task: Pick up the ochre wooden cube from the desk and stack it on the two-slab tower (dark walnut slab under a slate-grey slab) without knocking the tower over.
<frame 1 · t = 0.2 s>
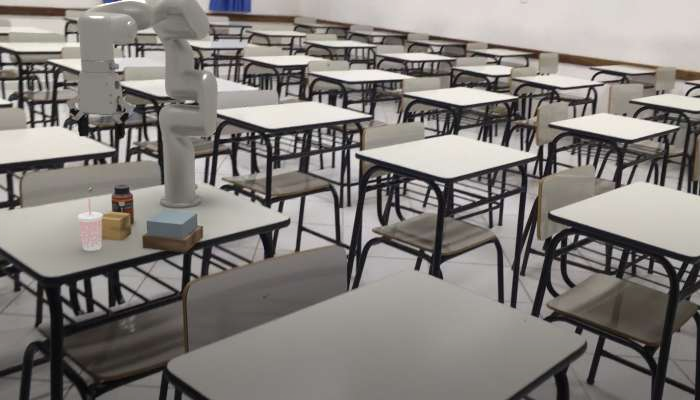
hand: (101, 137, 172), 30 cm above the table, fingers open, 9 cm apart
supplement bottle: (123, 224, 201), on the table
tower base: (173, 244, 189), on the table
ochre cube: (115, 236, 191), on the table
tower top: (172, 230, 187), point 3 cm above the table
beverage cup: (92, 248, 182), on the table
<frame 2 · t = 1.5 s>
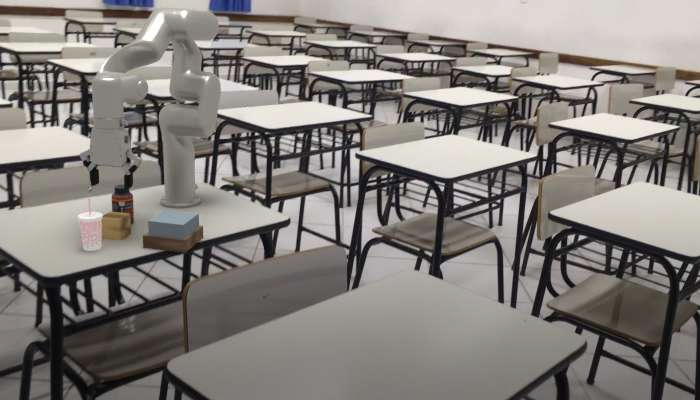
hand: (111, 186, 187), 14 cm above the table, fingers open, 9 cm apart
tower base: (174, 244, 189), on the table, touching tower top
tower top: (174, 231, 187), point 3 cm above the table, touching tower base
everything else where it was.
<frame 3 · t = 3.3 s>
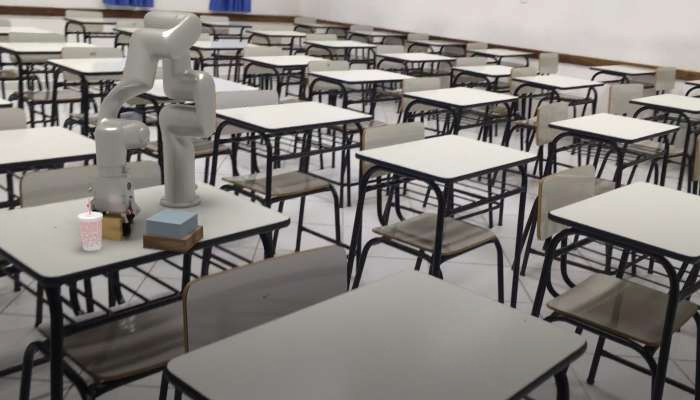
hand: (115, 233, 191), 1 cm above the table, fingers closed on ochre cube, 6 cm apart
ochre cube: (115, 236, 191), on the table, touching gripper
everything else where it was.
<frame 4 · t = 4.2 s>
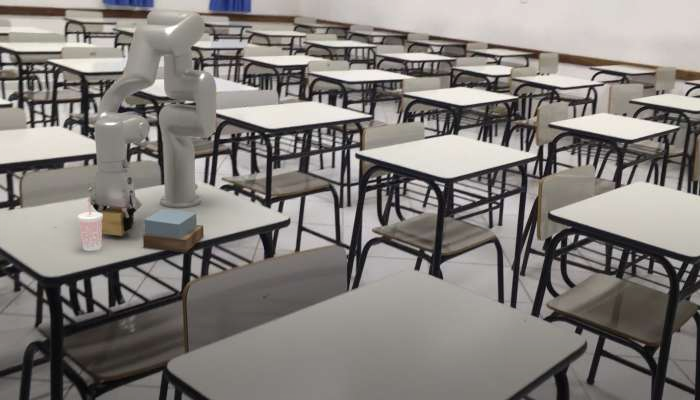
hand: (116, 227, 191), 2 cm above the table, fingers closed on ochre cube, 6 cm apart
ochre cube: (116, 230, 191), point 1 cm above the table, touching gripper
everything else where it was.
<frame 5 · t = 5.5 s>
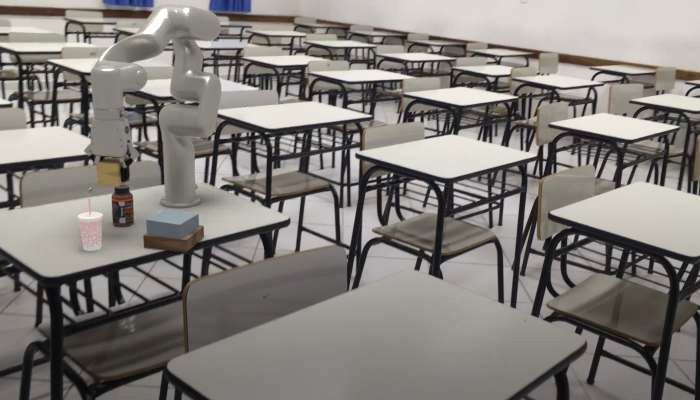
hand: (113, 179, 187), 16 cm above the table, fingers closed on ochre cube, 6 cm apart
ochre cube: (113, 182, 187), point 15 cm above the table, touching gripper
everything else where it was.
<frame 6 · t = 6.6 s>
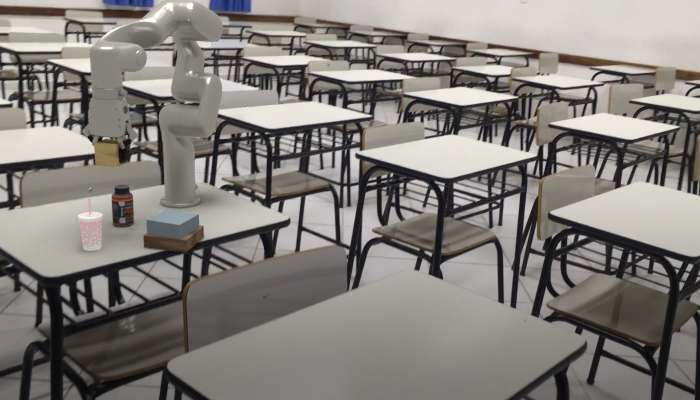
hand: (111, 160, 185), 21 cm above the table, fingers closed on ochre cube, 6 cm apart
ochre cube: (111, 163, 185), point 21 cm above the table, touching gripper
everything else where it was.
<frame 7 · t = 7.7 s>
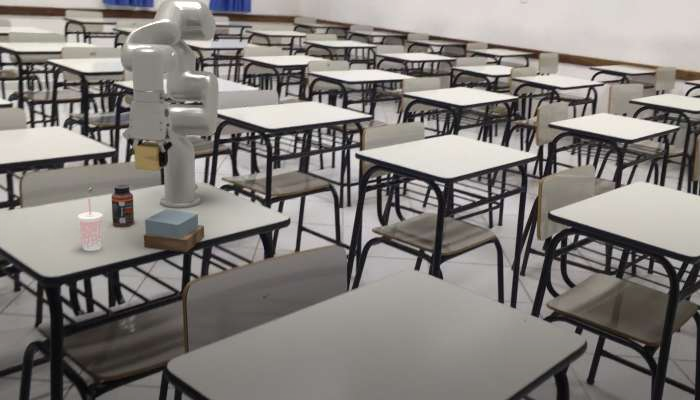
hand: (151, 163, 183), 22 cm above the table, fingers closed on ochre cube, 6 cm apart
ochre cube: (151, 167, 183), point 21 cm above the table, touching gripper
everything else where it was.
when the fingers open (10 cm above the table, at t = 10.9 s): ochre cube drops 1 cm, point 7 cm above the table.
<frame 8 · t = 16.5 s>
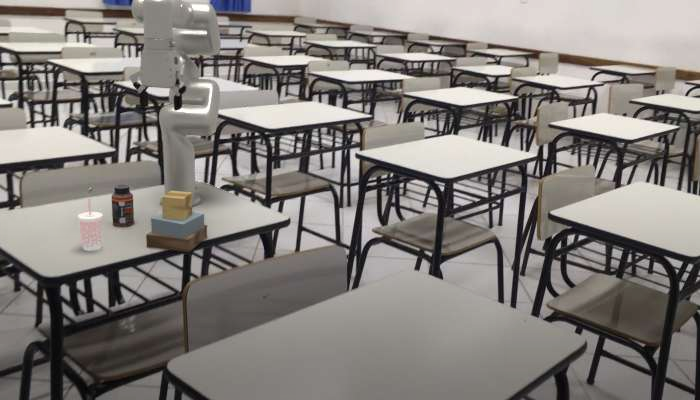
hand: (161, 108, 191), 34 cm above the table, fingers open, 9 cm apart
ochre cube: (177, 215, 187), point 7 cm above the table
tower top: (178, 229, 188), point 3 cm above the table, touching tower base
at the end: ochre cube 0.1 cm off-centre on the tower top, point 4.0 cm above the tower top's base; tower top 0.3 cm off-centre on the tower base, point 4.0 cm above the tower base's base; tower base moved 1.2 cm from its start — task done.
